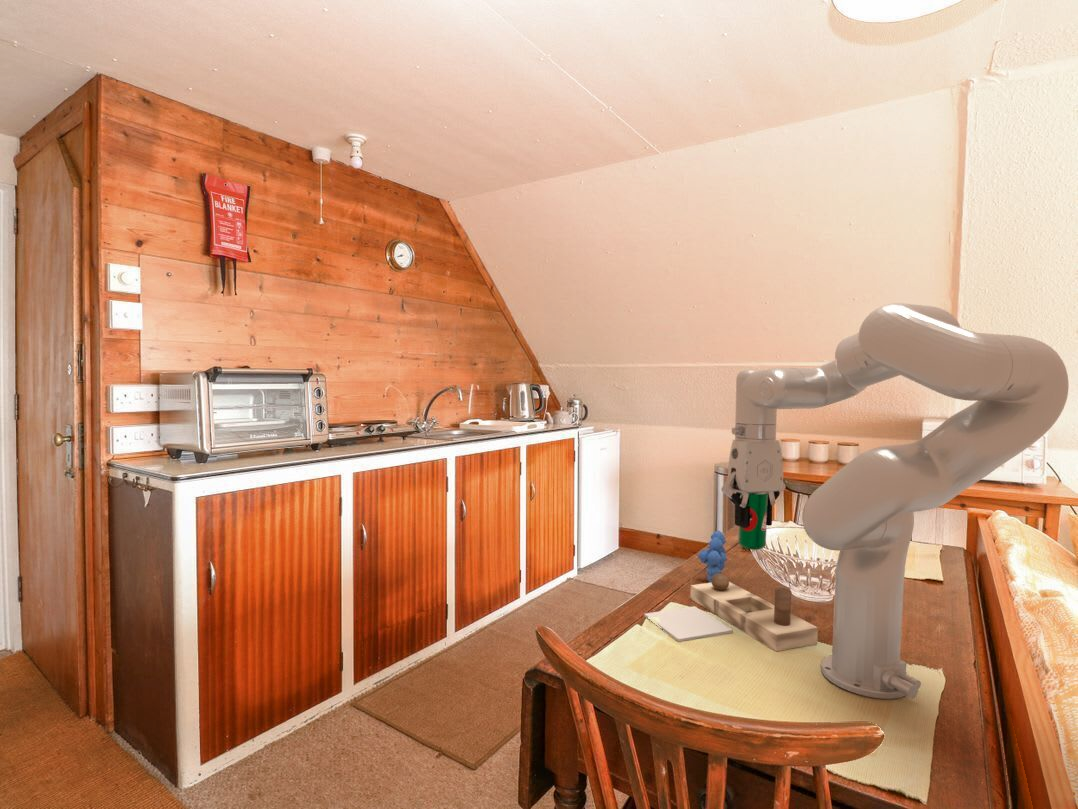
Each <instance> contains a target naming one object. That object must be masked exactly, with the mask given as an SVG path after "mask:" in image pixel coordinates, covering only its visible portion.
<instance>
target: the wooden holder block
mask: <svg viewBox="0 0 1078 809" xmlns="http://www.w3.org/2000/svg"><path fill="white" fill-rule="evenodd" d="M689 598H690V600H691V601H693V602H694V603H696V604H698V605H700V606H701V607H703V608H705V609H706V610H708V611H709V612H711V613H713V614H714V615H716V616H717V617H719V618H721V619H723V620H724V621H726V622H727V623H729V624H730V625H731V626H734V627H736V628H737V629H739V630H740V631H742V632H743V633H745V634H747V635H748V636H750V637H752V638H754V639H755V640H757V641H758V642H760V643H762V645H763V644H764V645H765V646H766V647H768V648H770V649H771V650H773V651H775V652H780V651H786V649H787V650H791V649H795V648H802V647H807V646H813V645H817V644H818V634H819V632H818V630H819V627H818V626H816V625H814V624H812V623H810V622H808V621H806V620H804V619H802V618H800V617H798V616H796V615H795V614H793V613H792V590H790V589H788V588H786V587H785V588H783V587H776V588H775V590H774V604H773V603H771V602H769V601H767V600H765V599H763V598H761V597H759V596H758V595H756V594H753V593H751V592H750V591H747V590H746V589H744V588H742V587H740V586H738V585H737V584H734V583H732V582H731V581H730V580H729V578H728V576H727V575H726V574H724V573H722V572H721V573H717V574H715V575H714V576H713V577H712V580H711V583H710V582H706V583H698V584H691V585H690V596H689Z"/></svg>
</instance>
